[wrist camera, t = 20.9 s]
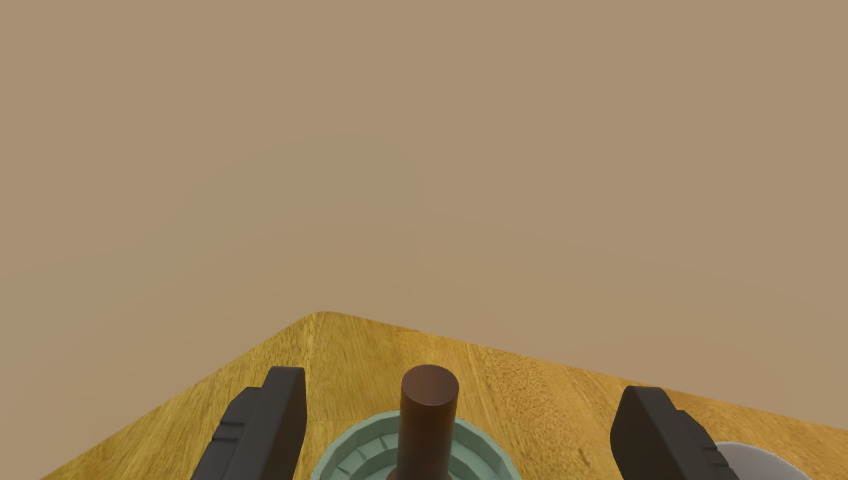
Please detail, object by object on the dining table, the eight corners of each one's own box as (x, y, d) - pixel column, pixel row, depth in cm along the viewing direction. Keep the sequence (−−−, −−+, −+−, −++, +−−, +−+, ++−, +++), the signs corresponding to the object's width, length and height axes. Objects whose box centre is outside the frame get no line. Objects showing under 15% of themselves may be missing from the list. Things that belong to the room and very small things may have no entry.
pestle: (377, 567, 29) (383, 414, 23) (383, 495, 33) (390, 353, 28) (453, 570, 29) (477, 419, 23) (449, 499, 33) (469, 357, 28)
